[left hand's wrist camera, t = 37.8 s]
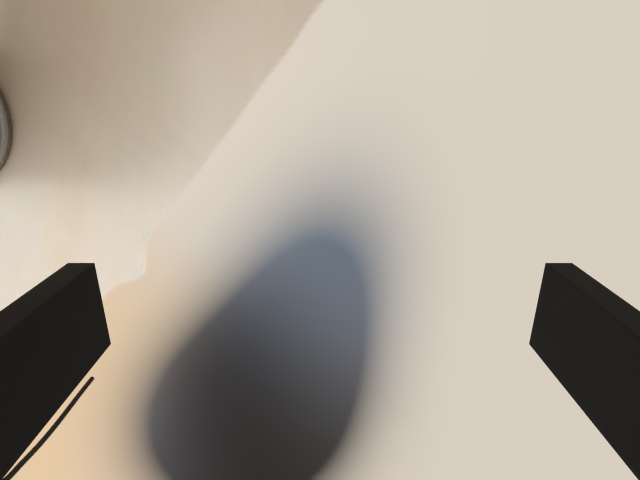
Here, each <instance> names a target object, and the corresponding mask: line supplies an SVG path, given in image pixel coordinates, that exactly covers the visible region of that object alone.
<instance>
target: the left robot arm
mask: <svg viewBox="0 0 640 480" xmlns="http://www.w3.org/2000/svg"><path fill="white" fill-rule="evenodd" d="M10 145H11V120H10V115H9V111H8V108H7V104H6V102H5V99H4V97H3V95H2V93H1V91H0V169H1V167H2V166H3V164H4V162H5V160H6V158H7V156H8V153H9V149H10ZM110 344H111V343H110V338H109V333H108V328H107V323H106V318H105V313H104V308H103V303H102V298H101V293H100V289H99V284H98V279H97V274H96V269H95V264H94V263H68V264H66V265H65V266H63V267H62V268H61V269H59V270H58V271H56V272H55V273H53V274H52V275H51V276H49V277H48V278H46V279H45V280H44V281H42V282H41V283H39V284H38V285H37V286H35V287H34V288H32V289H31V290H30V291H28V292H27V293H25V294H24V295H23V296H21V297H20V298H18V299H17V300H16V301H14V302H13V303H11V304H10V305H9V306H7V307H6V308H4V309H3V310H2V311H0V480H11V479H12V478H13V477H14V475H15V474H16V473H17V472H18V471H19V470H20V469H21V468H22V467H23V466H24V464H25V463H26V462H27V461H28V460H29V459H30V458H31V457H32V456H33V455H34V454H35V453H36V452H37V451H38V450H39V448H40V447H41V446H42V445H43V444H44V443H45V442H46V440H47V439H48V438H49V437H50V436H51V434H52V433H53V432H54V431H55V430H56V428H57V427H58V426H59V425H60V423H61V422H62V421H63V419H64V418H65V417H66V415H67V414H68V413H69V411H70V410H71V409H72V407H73V406H74V405H75V404H76V402H77V401H78V400H79V398H80V397H81V396H82V394H83V393H84V392H85V390H86V389H87V388H88V387H89V385H90V384H91V383H92V381H93V380H94V377H90V378H89V380H88V381H87V382H86V383H85V384H84V386H83V387H82V388H81V389H80V391H79V392H78V393H77V395H76V396H75V397H74V398H73V400H72V401H71V402H70V404H69V405H68V406H67V407H66V409H65V410H64V411H63V413H62V414H61V415H60V417H59V418H58V419H57V420H56V422H55V423H54V424H53V425H52V426H51V428H50V429H49V430H48V431H47V432H46V434H45V435H44V436H43V437H42V438H41V439H40V441H39V442H38V443H37V444H36V445H35V446H34V447H33V448H32V449H31V450H30V451H29V452H28V454H27V455H26V456H25V457H24V458H23V459H22V460H21V461H20V462H19V463H18V464H17V465H16V466H15V467H14V468H13V469H12V470H11V471H10V472H9V473H8V474H7V472H8V471H9V470H10V469H11V467H12V466H13V465H14V464H15V462H16V461H17V460H18V459H19V457H20V456H21V455H22V454H23V452H24V451H25V450H26V449H27V447H28V446H29V445H30V444H31V442H32V441H33V440H34V439H35V437H36V436H37V435H38V434H39V432H40V431H41V430H42V429H43V427H44V426H45V425H46V424H47V423H48V421H49V420H50V419H51V417H52V416H53V415H54V414H55V413H56V411H57V410H58V409H59V408H60V406H61V405H62V404H63V403H64V401H65V400H66V399H67V398H68V396H69V395H70V394H71V393H72V391H73V390H74V389H75V388H76V386H77V385H78V384H79V383H80V381H81V380H82V379H83V378H84V376H85V375H86V374H87V373H88V372H89V370H90V369H91V368H92V367H93V365H94V364H95V363H96V362H97V360H98V359H99V358H100V357H101V355H102V354H103V353H104V352H105V350H106V349H107V348H108V347H109V345H110ZM529 344H530V345H531V347H532V348H533V349H534V350H535V352H536V353H537V354H538V355H539V357H540V358H541V359H542V360H543V362H544V363H545V364H546V365H547V367H548V368H549V369H550V370H551V372H552V373H553V374H554V375H555V377H556V378H557V379H558V380H559V382H560V383H561V384H562V385H563V387H564V388H565V389H566V390H567V391H568V393H569V394H570V395H571V396H572V398H573V399H574V400H575V401H576V403H577V404H578V405H579V406H580V408H581V409H582V410H583V411H584V413H585V414H586V415H587V416H588V418H589V419H590V420H591V421H592V423H593V424H594V425H595V426H596V428H597V429H598V430H599V431H600V433H601V434H602V435H603V436H604V437H605V439H606V440H607V441H608V442H609V444H610V445H611V446H612V447H613V449H614V450H615V451H616V452H617V454H618V455H619V456H620V457H621V459H622V460H623V461H624V462H625V464H626V465H627V466H628V467H629V469H630V470H631V471H632V472H633V474H634V475H635V476H636V477H637V478H638V480H640V311H638V310H637V309H636V308H634V307H633V306H631V305H630V304H629V303H627V302H626V301H624V300H623V299H622V298H620V297H619V296H617V295H616V294H615V293H613V292H612V291H610V290H609V289H608V288H606V287H605V286H603V285H602V284H601V283H599V282H598V281H596V280H595V279H594V278H592V277H591V276H589V275H588V274H586V273H585V272H584V271H582V270H581V269H579V268H578V267H577V266H575V265H574V264H572V263H546V264H545V269H544V274H543V279H542V284H541V289H540V294H539V298H538V303H537V308H536V313H535V318H534V323H533V328H532V333H531V338H530V343H529ZM6 474H7V475H6ZM5 475H6V476H5ZM4 476H5V477H4ZM3 477H4V478H3Z"/></svg>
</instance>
